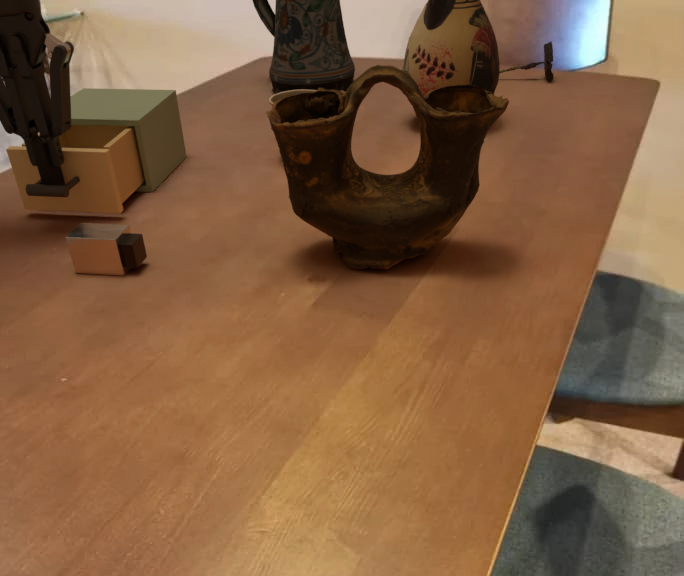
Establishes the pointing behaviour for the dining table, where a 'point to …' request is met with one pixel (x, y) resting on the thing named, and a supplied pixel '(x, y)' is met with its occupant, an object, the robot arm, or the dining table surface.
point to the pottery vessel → (376, 189)
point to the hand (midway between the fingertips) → (56, 191)
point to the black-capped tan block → (105, 249)
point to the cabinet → (138, 125)
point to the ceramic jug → (453, 47)
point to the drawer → (84, 171)
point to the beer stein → (307, 45)
